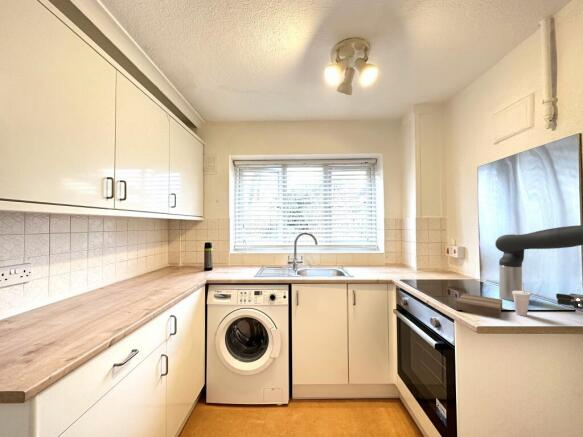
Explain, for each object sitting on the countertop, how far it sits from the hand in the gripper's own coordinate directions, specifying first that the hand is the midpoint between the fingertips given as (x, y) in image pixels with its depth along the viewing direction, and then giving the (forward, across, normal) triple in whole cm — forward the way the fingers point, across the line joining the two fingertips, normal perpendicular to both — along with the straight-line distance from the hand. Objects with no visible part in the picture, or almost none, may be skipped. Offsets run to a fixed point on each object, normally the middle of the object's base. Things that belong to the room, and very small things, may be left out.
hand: (556, 298), depth 115 cm
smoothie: (+12, 0, +9) cm, 15 cm away
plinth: (+26, +3, +9) cm, 28 cm away
